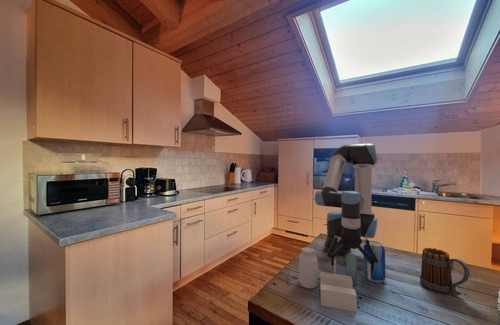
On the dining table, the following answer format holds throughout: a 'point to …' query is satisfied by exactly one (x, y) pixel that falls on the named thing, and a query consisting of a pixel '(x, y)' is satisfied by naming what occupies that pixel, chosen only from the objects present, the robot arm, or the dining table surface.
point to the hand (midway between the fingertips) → (351, 275)
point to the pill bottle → (308, 268)
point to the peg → (351, 267)
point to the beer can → (379, 267)
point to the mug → (440, 271)
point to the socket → (338, 291)
